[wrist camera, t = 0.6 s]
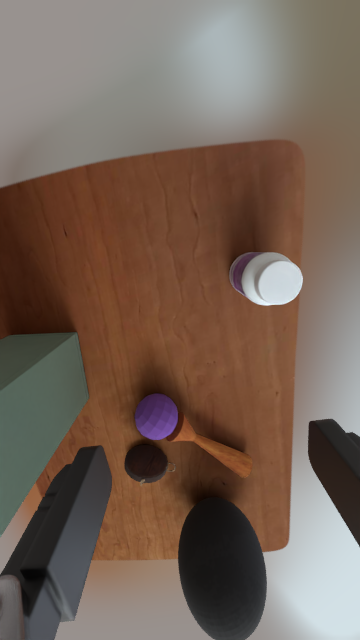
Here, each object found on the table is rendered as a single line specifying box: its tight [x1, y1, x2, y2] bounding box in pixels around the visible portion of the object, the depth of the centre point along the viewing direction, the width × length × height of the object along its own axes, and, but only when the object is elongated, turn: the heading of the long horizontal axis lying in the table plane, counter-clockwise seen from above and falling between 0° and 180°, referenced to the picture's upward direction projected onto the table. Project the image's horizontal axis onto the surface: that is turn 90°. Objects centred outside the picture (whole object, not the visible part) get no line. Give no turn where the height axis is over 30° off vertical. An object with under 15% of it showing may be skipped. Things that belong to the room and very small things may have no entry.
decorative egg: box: [178, 497, 267, 640], centre depth 34 cm, size 12×12×15 cm
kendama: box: [135, 393, 252, 478], centre depth 34 cm, size 6×6×20 cm
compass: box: [124, 445, 176, 486], centre depth 35 cm, size 8×8×7 cm
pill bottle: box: [229, 252, 303, 305], centre depth 25 cm, size 5×5×10 cm
